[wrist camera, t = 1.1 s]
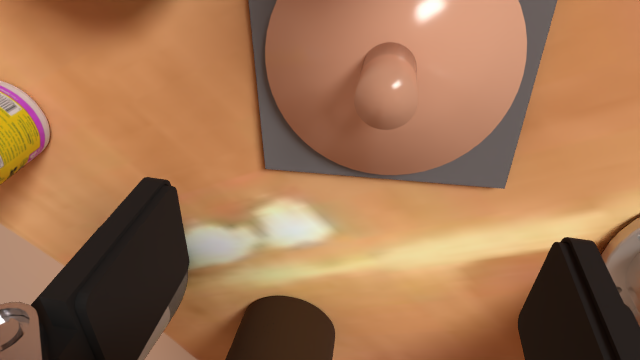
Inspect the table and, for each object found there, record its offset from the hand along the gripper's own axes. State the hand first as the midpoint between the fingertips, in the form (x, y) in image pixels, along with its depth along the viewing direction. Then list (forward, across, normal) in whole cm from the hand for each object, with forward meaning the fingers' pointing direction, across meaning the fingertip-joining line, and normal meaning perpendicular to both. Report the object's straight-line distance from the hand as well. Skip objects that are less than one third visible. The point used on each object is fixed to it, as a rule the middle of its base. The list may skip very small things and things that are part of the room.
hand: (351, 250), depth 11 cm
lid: (+18, 0, +2) cm, 18 cm away
